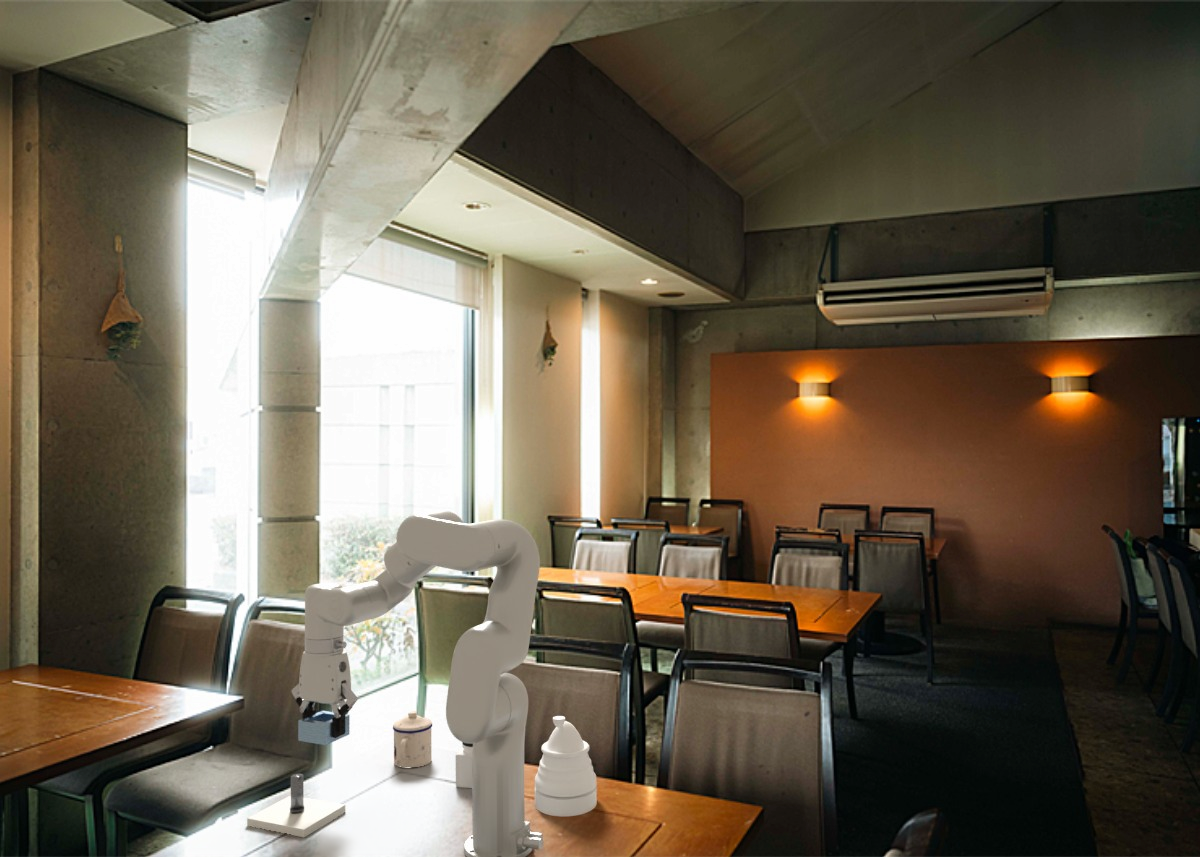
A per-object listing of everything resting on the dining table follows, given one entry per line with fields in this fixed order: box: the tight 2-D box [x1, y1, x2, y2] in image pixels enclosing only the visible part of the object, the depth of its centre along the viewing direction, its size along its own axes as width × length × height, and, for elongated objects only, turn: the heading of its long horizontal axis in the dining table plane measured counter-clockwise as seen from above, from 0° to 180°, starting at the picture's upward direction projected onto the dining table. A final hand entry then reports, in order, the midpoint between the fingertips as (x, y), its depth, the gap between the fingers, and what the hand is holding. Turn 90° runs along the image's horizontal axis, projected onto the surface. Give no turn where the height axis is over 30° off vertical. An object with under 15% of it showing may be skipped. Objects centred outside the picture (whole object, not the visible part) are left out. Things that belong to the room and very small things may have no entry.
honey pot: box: [534, 715, 598, 817], centre depth 176 cm, size 13×13×18 cm
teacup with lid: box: [392, 711, 433, 768], centre depth 198 cm, size 12×9×12 cm
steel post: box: [290, 773, 305, 814], centre depth 169 cm, size 3×3×7 cm
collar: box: [297, 710, 350, 746], centre depth 172 cm, size 7×7×4 cm
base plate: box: [246, 794, 346, 838], centre depth 169 cm, size 14×12×2 cm
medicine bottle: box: [455, 742, 473, 789], centre depth 187 cm, size 7×7×12 cm
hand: (323, 732), depth 172 cm, fingers closed on collar, 7 cm apart
